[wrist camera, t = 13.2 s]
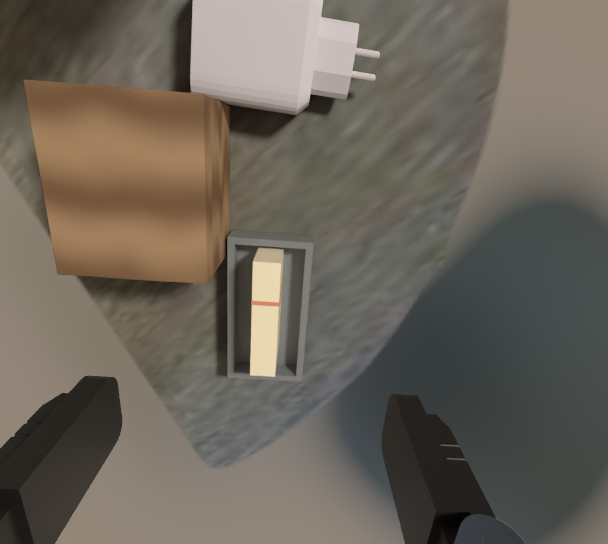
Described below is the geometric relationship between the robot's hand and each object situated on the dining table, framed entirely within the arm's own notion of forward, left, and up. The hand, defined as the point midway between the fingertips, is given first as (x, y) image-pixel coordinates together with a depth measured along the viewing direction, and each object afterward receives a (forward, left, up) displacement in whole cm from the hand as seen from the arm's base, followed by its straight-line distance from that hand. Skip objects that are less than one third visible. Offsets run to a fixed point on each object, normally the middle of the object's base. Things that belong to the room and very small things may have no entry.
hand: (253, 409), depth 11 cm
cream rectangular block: (+9, -1, -28) cm, 29 cm away
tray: (+10, -1, -28) cm, 30 cm away
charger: (-14, -1, -29) cm, 32 cm away
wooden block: (-3, -12, -28) cm, 31 cm away
